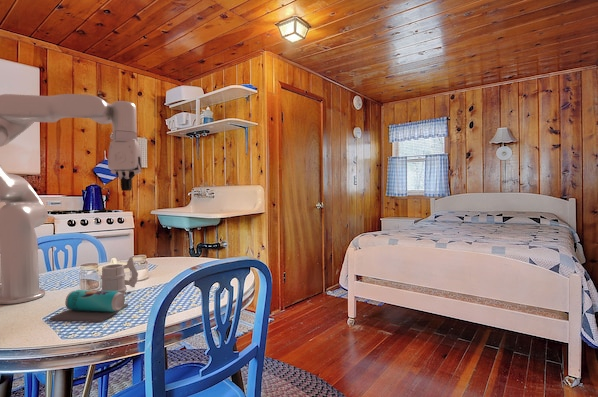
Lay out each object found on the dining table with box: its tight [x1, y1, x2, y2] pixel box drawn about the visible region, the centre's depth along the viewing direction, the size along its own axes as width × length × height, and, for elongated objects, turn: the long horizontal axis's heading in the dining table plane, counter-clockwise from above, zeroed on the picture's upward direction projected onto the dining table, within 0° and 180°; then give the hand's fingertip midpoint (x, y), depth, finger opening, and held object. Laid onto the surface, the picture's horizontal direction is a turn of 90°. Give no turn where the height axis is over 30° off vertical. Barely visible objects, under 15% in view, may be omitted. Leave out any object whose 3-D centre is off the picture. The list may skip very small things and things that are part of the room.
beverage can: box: [64, 289, 126, 312], centre depth 98 cm, size 6×6×15 cm
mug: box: [100, 256, 139, 296], centre depth 115 cm, size 8×12×12 cm, turn 139°
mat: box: [49, 303, 129, 323], centre depth 98 cm, size 15×12×1 cm
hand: (126, 190), depth 118 cm, fingers closed
